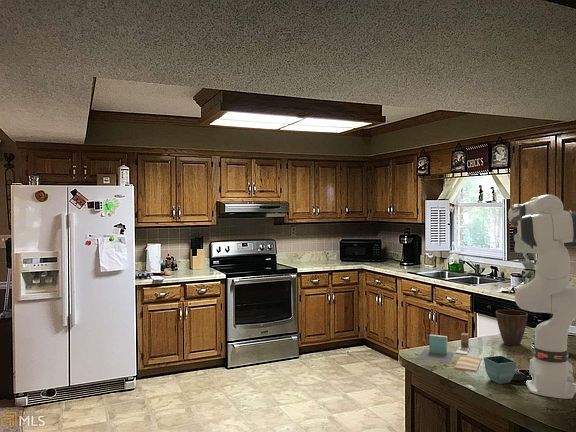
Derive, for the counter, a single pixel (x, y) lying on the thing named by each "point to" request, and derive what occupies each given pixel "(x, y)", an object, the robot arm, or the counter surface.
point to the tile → (438, 344)
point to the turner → (464, 344)
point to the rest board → (468, 363)
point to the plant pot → (511, 325)
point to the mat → (436, 356)
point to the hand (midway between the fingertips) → (539, 263)
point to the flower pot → (499, 369)
